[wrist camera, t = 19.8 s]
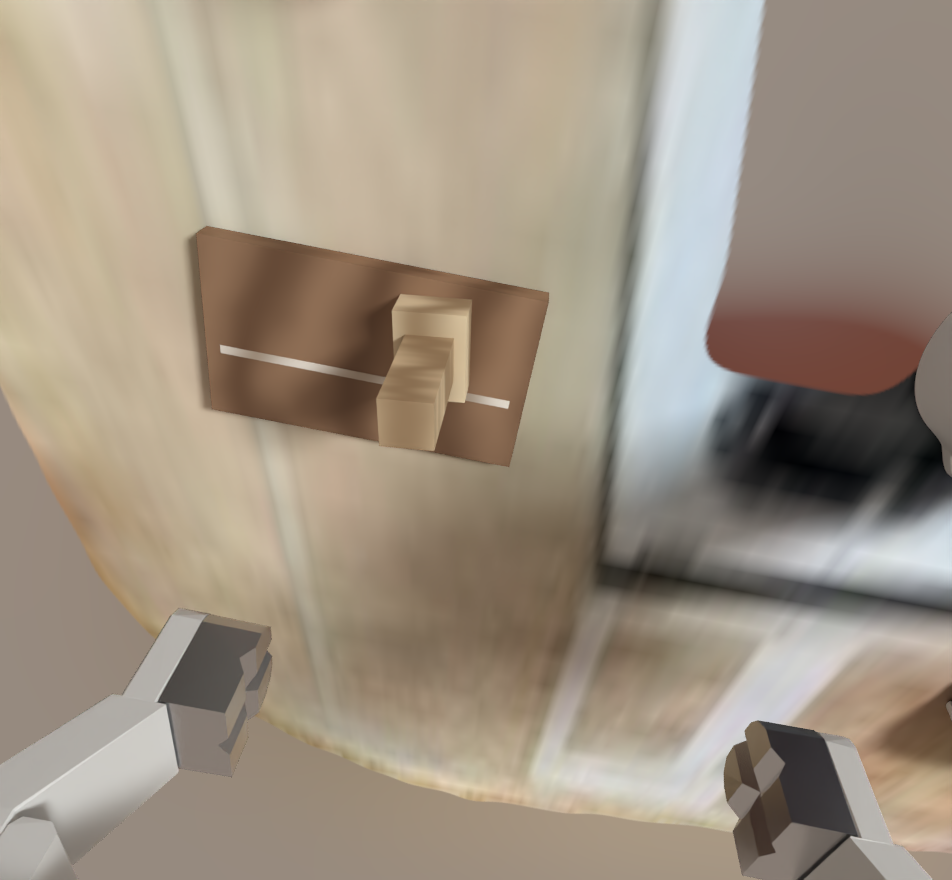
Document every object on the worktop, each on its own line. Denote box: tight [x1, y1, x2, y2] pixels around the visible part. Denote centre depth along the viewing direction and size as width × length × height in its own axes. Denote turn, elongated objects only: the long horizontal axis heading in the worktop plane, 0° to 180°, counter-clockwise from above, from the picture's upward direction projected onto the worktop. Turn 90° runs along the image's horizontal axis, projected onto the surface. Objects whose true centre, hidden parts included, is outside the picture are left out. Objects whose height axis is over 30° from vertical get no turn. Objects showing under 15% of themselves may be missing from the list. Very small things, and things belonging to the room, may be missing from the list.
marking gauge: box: [376, 294, 472, 451], centre depth 39 cm, size 4×6×10 cm
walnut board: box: [196, 226, 549, 467], centre depth 45 cm, size 22×13×2 cm, turn 81°
